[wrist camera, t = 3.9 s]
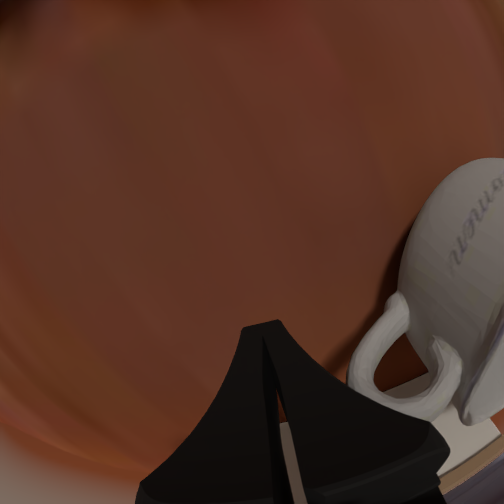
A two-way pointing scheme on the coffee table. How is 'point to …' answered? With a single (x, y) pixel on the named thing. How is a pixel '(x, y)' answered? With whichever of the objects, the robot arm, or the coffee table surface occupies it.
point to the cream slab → (449, 426)
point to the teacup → (448, 301)
